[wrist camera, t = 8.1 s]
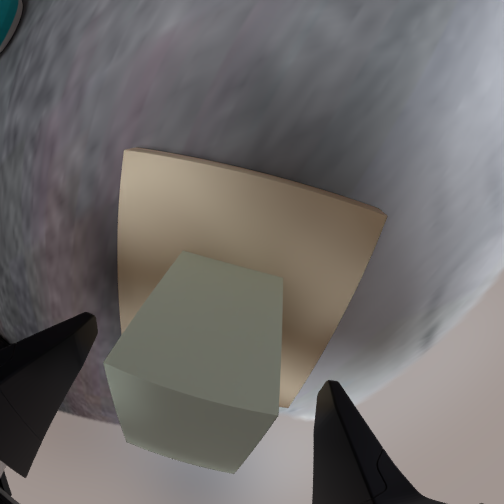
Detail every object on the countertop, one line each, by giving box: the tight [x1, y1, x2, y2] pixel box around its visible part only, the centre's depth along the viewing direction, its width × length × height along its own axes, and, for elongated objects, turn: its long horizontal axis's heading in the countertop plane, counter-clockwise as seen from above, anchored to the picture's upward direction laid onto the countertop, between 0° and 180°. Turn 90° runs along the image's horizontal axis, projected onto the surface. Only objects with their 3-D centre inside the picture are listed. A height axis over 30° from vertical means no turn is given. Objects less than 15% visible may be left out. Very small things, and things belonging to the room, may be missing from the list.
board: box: [117, 147, 387, 408], centre depth 12 cm, size 12×10×1 cm
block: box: [103, 251, 283, 474], centre depth 9 cm, size 5×4×6 cm
